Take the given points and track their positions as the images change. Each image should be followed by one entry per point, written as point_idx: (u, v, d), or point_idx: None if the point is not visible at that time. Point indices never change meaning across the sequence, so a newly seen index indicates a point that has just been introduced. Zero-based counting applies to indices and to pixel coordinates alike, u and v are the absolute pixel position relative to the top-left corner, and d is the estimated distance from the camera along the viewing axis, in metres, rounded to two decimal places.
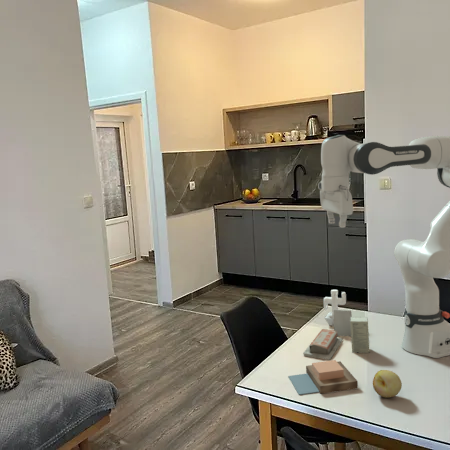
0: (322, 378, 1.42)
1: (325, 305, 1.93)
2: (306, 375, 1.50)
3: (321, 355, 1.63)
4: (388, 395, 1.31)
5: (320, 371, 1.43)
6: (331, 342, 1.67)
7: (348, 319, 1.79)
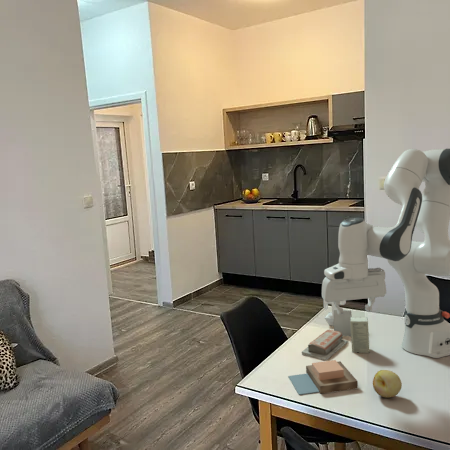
0: (322, 378, 1.42)
1: (325, 305, 1.93)
2: (306, 375, 1.50)
3: (318, 355, 1.63)
4: (388, 395, 1.31)
5: (320, 371, 1.43)
6: (331, 343, 1.67)
7: (348, 319, 1.79)
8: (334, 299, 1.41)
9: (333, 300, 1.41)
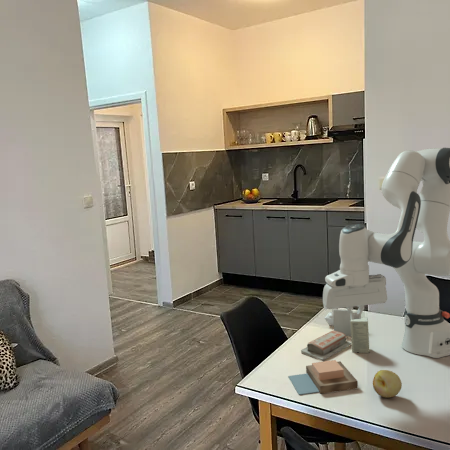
0: (322, 378, 1.42)
1: None
2: (306, 375, 1.50)
3: (316, 355, 1.64)
4: (388, 395, 1.31)
5: (320, 371, 1.43)
6: (331, 344, 1.66)
7: (348, 319, 1.79)
8: (335, 306, 1.41)
9: (334, 307, 1.41)
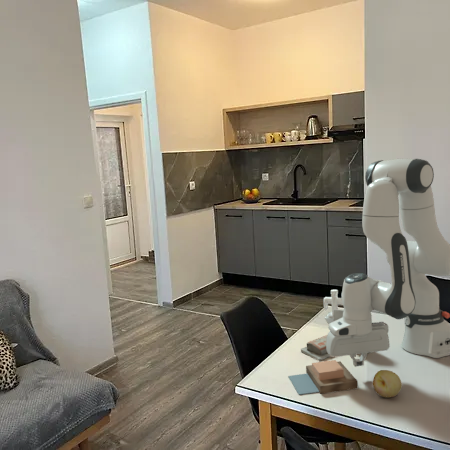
0: (322, 378, 1.42)
1: (325, 305, 1.93)
2: (306, 375, 1.50)
3: (314, 354, 1.64)
4: (388, 395, 1.31)
5: (320, 371, 1.43)
6: None
7: None
8: (339, 354, 1.43)
9: (338, 355, 1.43)
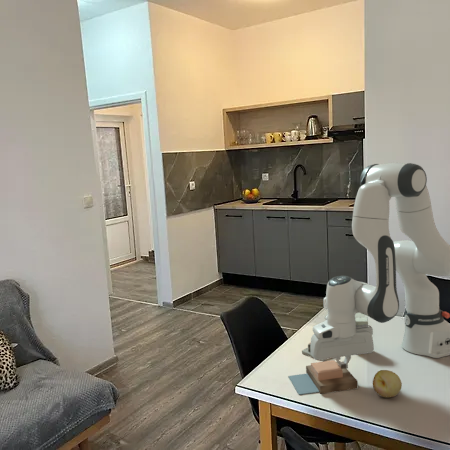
0: (321, 378, 1.42)
1: (325, 305, 1.93)
2: (306, 375, 1.50)
3: None
4: (388, 395, 1.31)
5: (319, 371, 1.42)
6: None
7: None
8: (322, 357, 1.43)
9: (321, 358, 1.43)
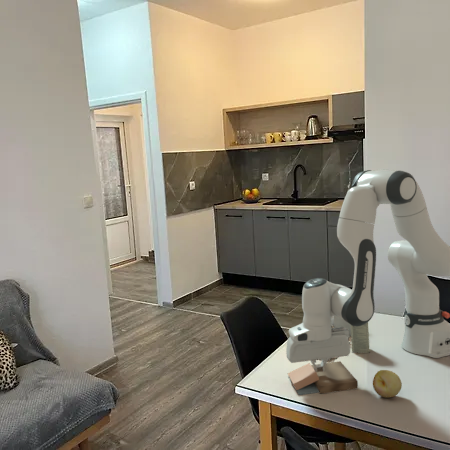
0: (298, 387, 1.41)
1: None
2: None
3: None
4: (388, 395, 1.31)
5: (294, 381, 1.42)
6: None
7: None
8: (298, 360, 1.42)
9: (297, 361, 1.42)
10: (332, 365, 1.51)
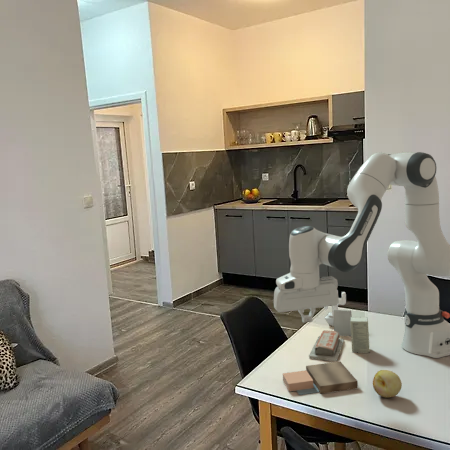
0: (291, 389, 1.41)
1: None
2: None
3: (327, 357, 1.61)
4: (388, 395, 1.31)
5: (290, 382, 1.42)
6: (335, 343, 1.66)
7: (348, 319, 1.79)
8: (285, 309, 1.39)
9: (284, 310, 1.39)
10: (332, 365, 1.51)
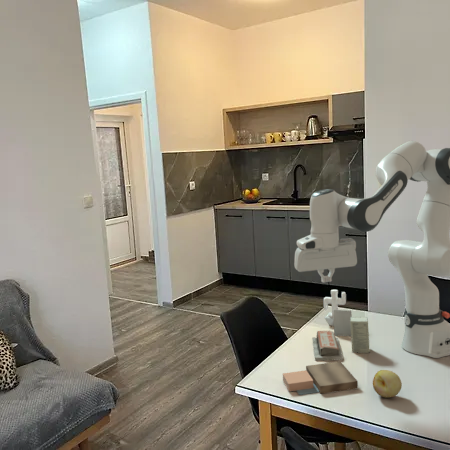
0: (291, 389, 1.41)
1: (325, 305, 1.93)
2: None
3: (332, 356, 1.61)
4: (388, 395, 1.31)
5: (290, 382, 1.42)
6: (336, 342, 1.67)
7: (348, 319, 1.79)
8: (306, 269, 1.44)
9: (305, 270, 1.44)
10: (332, 365, 1.51)
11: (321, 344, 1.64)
